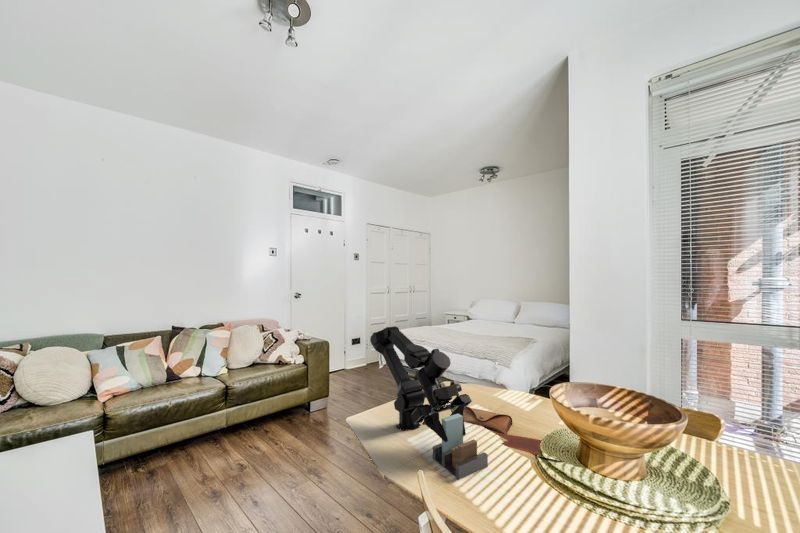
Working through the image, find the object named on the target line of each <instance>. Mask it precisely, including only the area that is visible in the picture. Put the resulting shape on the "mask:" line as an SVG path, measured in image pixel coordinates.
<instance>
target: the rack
mask: <svg viewBox="0 0 800 533" xmlns="http://www.w3.org/2000/svg"><path fill="white" fill-rule="evenodd" d="M488 458H489V456H488V454H487V453H486V452H484V451H483V452H481V453H479V454H477V455H476V456H474V457H471V458H469V459H466V460H464V461H462V462H459V463H457V464H456V469H455V468H454V467H453V466H452V450H449V451H447V452H444V453H442V442H441V443H439V444H435V445H433V446H432V459H433V460H434V461H435V462H437V463H438V464H439V465H440V466H441V467H442V468H444V469H445V470H447V472H449V473H450V474H451V475H453V476H454V477H455V478H456V479H457V480H461V479H464V478H467V476H470V475H472V474H476V473H477V472H479V471H481V470H484V469H487V468H488V467H489V466H488V465H489V464H488V463H489V462H488V460H489V459H488Z"/></svg>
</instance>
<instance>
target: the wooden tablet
mask: <svg viewBox="0 0 800 533" xmlns="http://www.w3.org/2000/svg"><path fill="white" fill-rule="evenodd" d="M492 433H493V434H495V435H497V436H498V437H501V438H503V439H504V441H503V442H501V444H502V445H503V446H505V447H508V448H511V449H513V450H514V449H515V450H519V451H522V452H526V453H530V454H531V455H533V456H534V457H536V456H537V455H538V454H539V451H538V450H539V446H540V443H541V441H542V440H543V439H542V440H541V439H537V438H532V437H525V436H520V435H513V434H508V433H507V434H502V433H499V432H495V431H492Z"/></svg>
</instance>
